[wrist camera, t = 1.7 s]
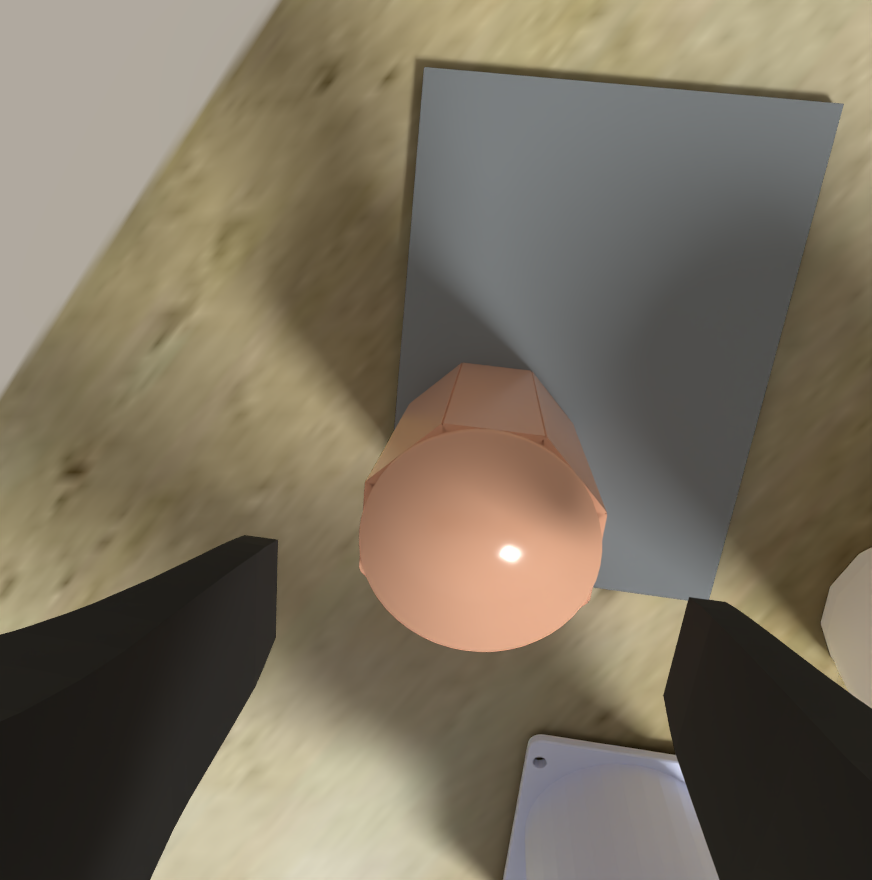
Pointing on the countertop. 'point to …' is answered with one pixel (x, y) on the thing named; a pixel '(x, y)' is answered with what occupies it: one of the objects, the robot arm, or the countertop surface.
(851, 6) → the countertop surface
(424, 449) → the salmon pink faceted cylinder
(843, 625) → the foam cup
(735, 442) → the mat
